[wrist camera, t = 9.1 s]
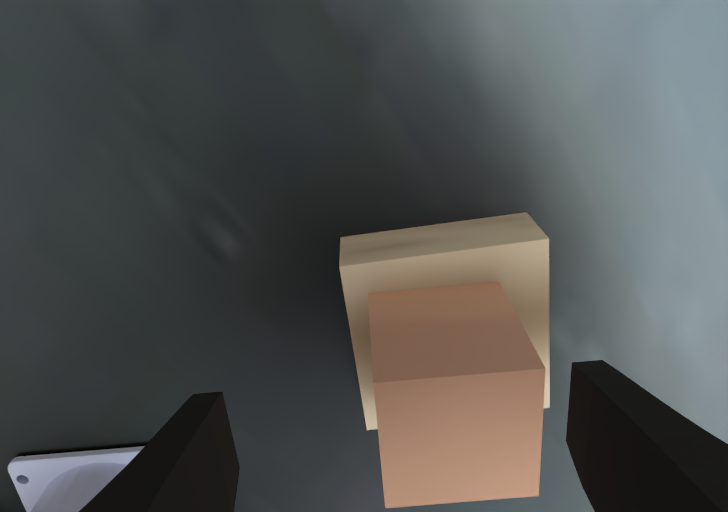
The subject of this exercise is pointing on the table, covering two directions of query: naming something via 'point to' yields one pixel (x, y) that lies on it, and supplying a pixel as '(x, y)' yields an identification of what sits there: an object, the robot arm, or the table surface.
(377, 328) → the terracotta block
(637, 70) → the table surface
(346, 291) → the maple slab
